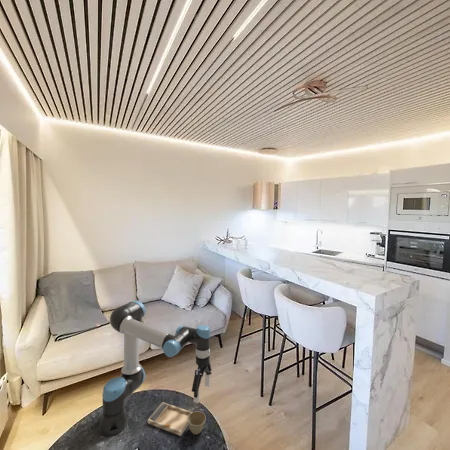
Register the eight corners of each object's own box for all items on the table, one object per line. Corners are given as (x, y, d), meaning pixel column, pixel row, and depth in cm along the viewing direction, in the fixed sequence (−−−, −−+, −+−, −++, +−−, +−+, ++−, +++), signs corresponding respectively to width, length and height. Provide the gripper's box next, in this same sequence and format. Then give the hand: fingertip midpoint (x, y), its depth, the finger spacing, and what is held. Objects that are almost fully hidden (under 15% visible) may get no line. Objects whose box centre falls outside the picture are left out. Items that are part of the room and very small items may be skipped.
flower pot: (202, 440, 129) (202, 427, 129) (184, 436, 131) (185, 423, 131) (207, 425, 139) (207, 412, 139) (190, 421, 141) (191, 409, 141)
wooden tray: (147, 423, 139) (147, 418, 138) (162, 405, 152) (162, 401, 152) (180, 436, 131) (180, 431, 131) (193, 416, 145) (193, 411, 145)
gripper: (198, 369, 120) (197, 412, 120) (217, 345, 143) (216, 381, 144) (185, 366, 123) (184, 407, 123) (206, 343, 146) (205, 378, 146)
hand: (202, 393), depth 133 cm, fingers open, 13 cm apart
